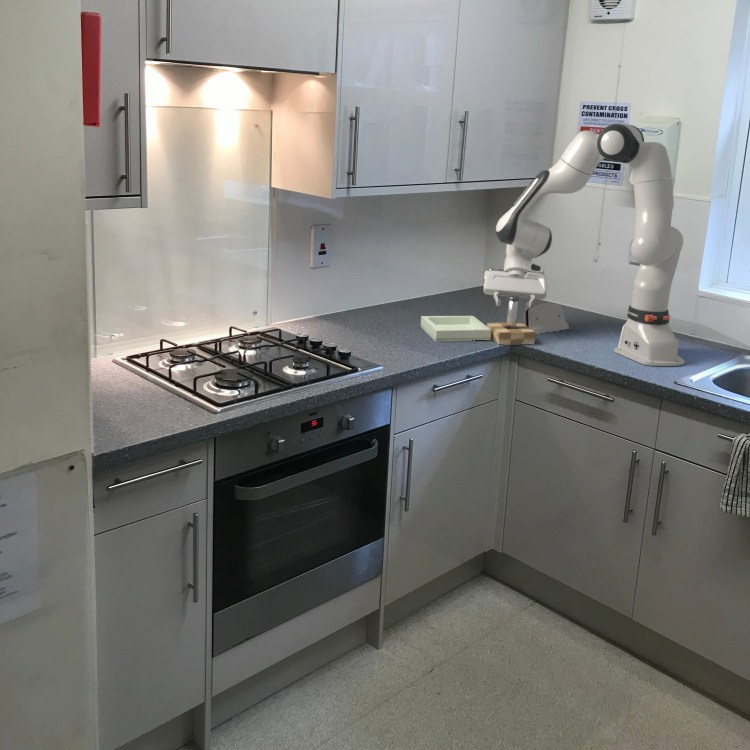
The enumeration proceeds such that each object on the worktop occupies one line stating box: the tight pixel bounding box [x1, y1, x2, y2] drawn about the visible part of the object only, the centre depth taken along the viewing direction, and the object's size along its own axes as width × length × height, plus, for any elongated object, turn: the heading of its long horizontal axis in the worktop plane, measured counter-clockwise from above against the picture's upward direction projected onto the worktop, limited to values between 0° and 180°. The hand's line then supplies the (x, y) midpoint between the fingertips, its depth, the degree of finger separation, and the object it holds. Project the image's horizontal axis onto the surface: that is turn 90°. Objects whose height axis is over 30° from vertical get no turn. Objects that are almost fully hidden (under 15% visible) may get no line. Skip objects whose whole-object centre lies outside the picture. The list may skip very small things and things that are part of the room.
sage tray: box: [420, 315, 491, 342], centre depth 290 cm, size 18×18×4 cm
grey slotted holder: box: [523, 302, 570, 333], centre depth 300 cm, size 17×5×10 cm, turn 125°
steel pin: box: [506, 296, 520, 329], centre depth 285 cm, size 3×3×14 cm
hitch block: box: [486, 321, 536, 346], centre depth 286 cm, size 12×12×4 cm
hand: (512, 306), depth 286 cm, fingers open, 8 cm apart
